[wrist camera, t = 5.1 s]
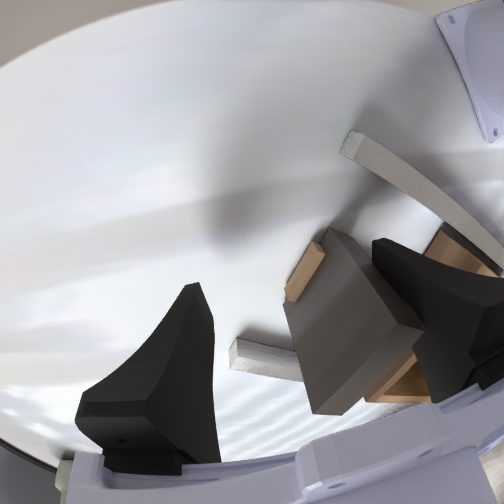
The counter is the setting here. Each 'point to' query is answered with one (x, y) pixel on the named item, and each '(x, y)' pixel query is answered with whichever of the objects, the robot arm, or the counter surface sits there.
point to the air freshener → (63, 478)
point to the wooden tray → (358, 325)
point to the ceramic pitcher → (495, 470)
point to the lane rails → (414, 185)
